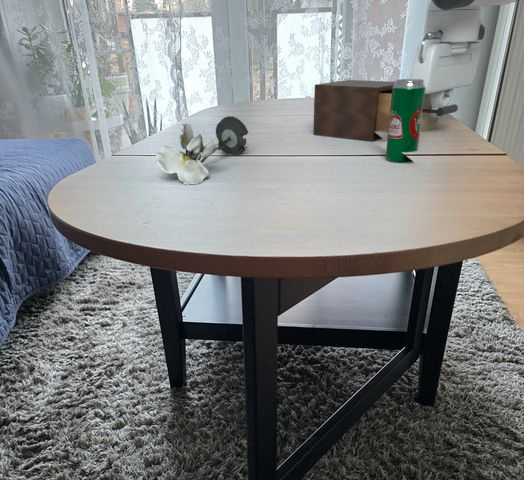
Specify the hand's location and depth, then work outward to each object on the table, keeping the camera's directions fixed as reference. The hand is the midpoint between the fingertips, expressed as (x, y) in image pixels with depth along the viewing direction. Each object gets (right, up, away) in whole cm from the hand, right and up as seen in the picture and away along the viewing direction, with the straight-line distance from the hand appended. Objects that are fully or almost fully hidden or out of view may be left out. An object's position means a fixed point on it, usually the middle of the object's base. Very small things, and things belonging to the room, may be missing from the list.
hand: (438, 116), depth 96 cm
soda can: (-10, -12, -11) cm, 19 cm away
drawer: (-5, -1, +6) cm, 8 cm away
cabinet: (-13, +2, +12) cm, 18 cm away
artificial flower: (-42, -15, -13) cm, 46 cm away
